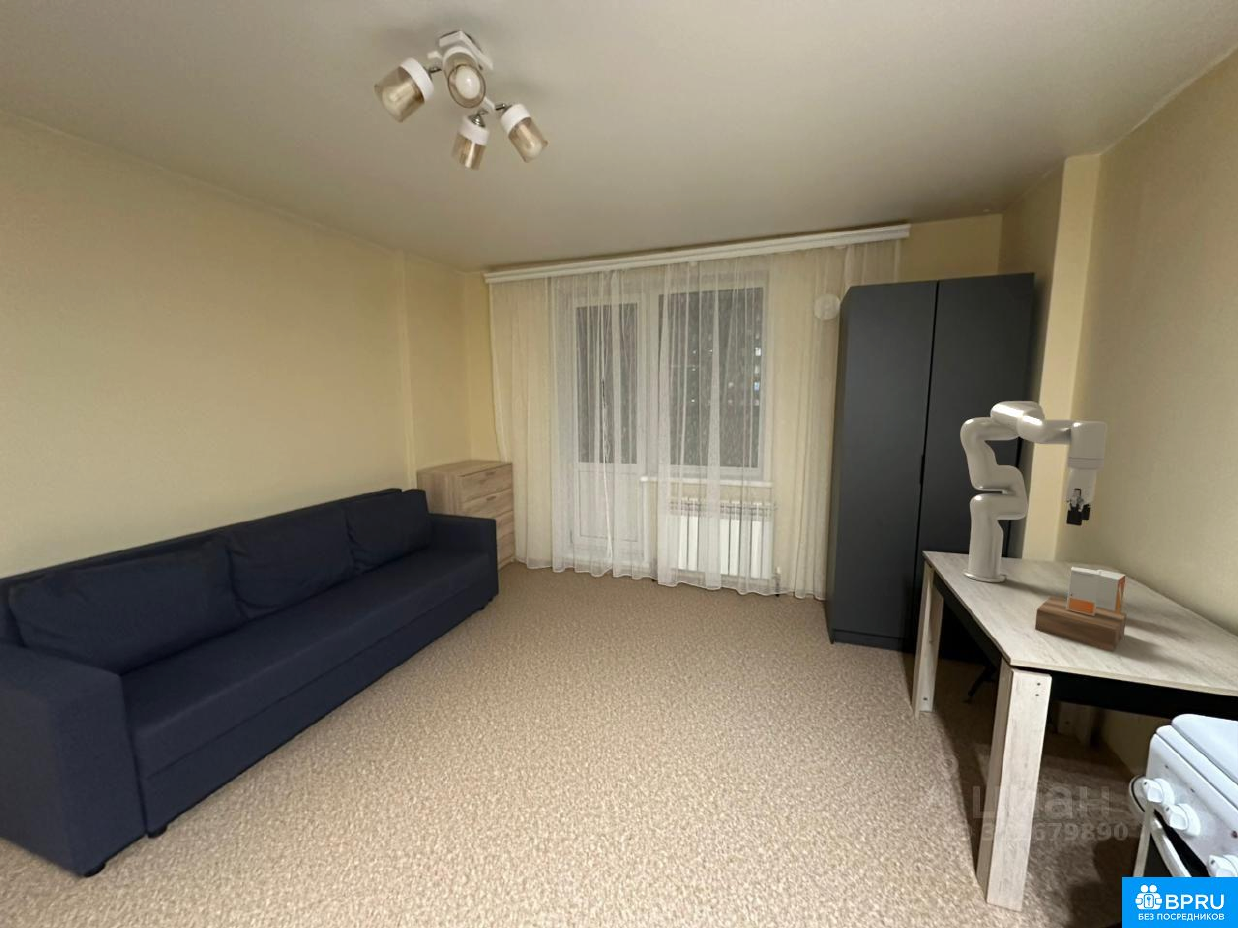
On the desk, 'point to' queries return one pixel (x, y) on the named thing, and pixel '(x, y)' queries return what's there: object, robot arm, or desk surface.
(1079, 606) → the skincare box
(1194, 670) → the desk surface
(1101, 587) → the small box
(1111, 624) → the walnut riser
